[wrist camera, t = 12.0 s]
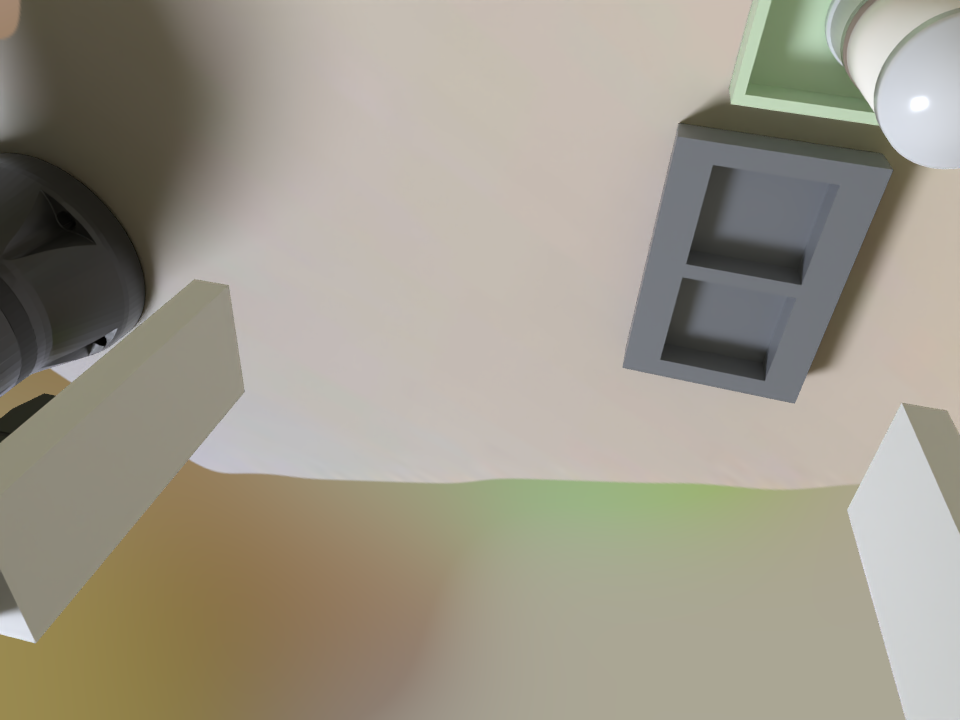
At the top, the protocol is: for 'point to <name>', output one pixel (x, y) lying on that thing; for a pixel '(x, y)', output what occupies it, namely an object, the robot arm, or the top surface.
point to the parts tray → (794, 64)
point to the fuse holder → (750, 258)
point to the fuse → (905, 71)
